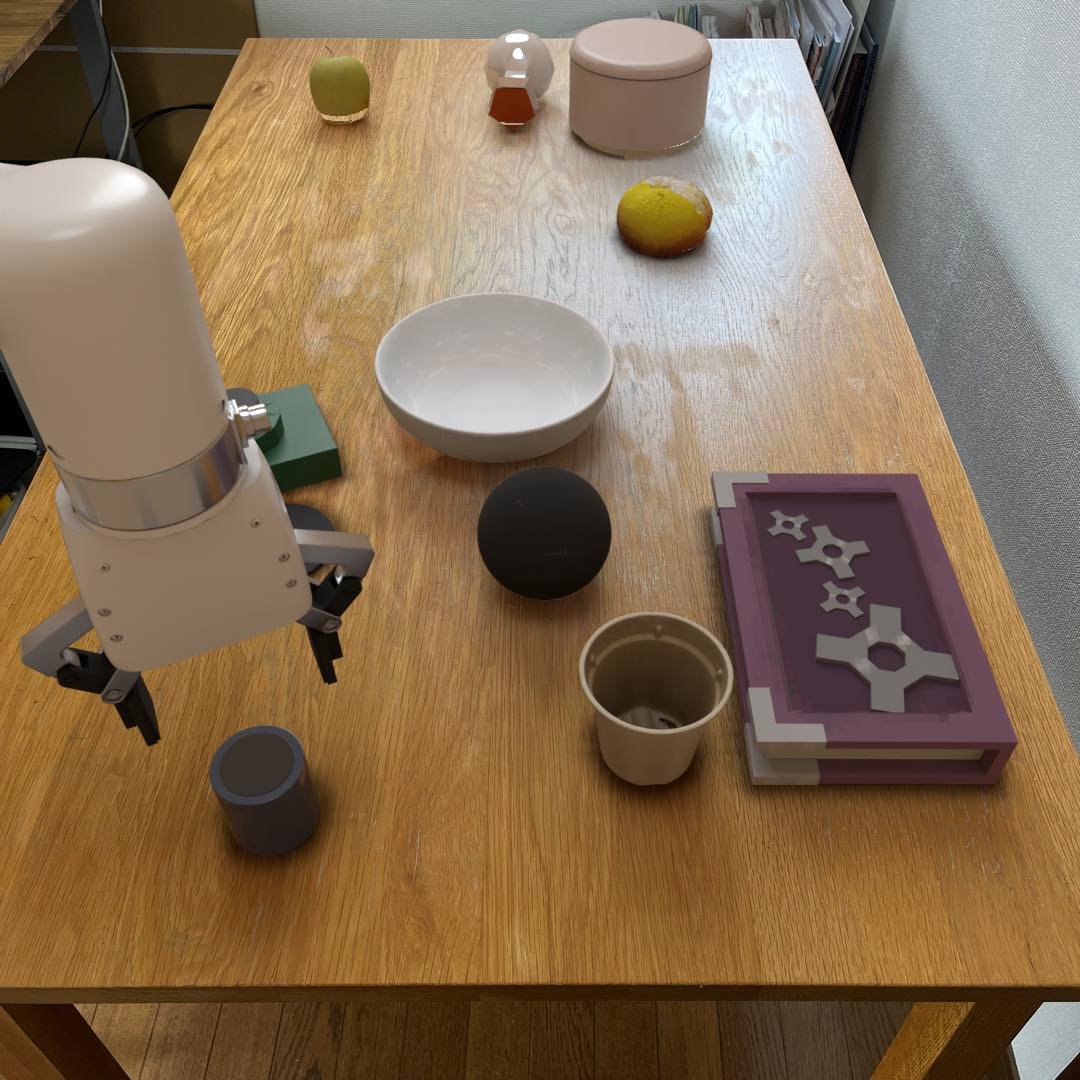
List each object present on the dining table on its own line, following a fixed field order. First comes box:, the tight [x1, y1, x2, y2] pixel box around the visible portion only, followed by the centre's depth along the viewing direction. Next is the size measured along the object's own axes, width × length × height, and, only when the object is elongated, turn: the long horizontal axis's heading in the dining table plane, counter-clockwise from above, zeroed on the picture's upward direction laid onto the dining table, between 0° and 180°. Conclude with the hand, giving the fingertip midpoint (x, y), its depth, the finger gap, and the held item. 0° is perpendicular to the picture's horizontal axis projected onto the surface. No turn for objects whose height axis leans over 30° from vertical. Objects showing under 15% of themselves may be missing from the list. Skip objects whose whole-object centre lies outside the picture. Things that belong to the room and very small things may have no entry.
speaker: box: [476, 465, 613, 602], centre depth 77 cm, size 10×10×10 cm
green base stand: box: [254, 382, 344, 494], centre depth 89 cm, size 14×10×5 cm
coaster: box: [284, 502, 336, 577], centre depth 83 cm, size 9×9×1 cm
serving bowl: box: [373, 292, 616, 464], centre depth 93 cm, size 21×21×7 cm
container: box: [568, 17, 713, 158], centre depth 134 cm, size 18×18×12 cm
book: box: [709, 470, 1019, 786], centre depth 75 cm, size 25×16×5 cm, turn 0°
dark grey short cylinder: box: [225, 387, 259, 406], centre depth 87 cm, size 4×4×2 cm
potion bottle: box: [483, 28, 556, 132], centre depth 140 cm, size 9×10×15 cm
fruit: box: [616, 175, 714, 259], centre depth 117 cm, size 11×10×8 cm
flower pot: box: [578, 610, 734, 787], centre depth 67 cm, size 9×9×9 cm
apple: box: [308, 45, 371, 126], centre depth 138 cm, size 8×8×10 cm
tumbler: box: [208, 724, 321, 857], centre depth 64 cm, size 6×6×6 cm
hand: (239, 694), depth 57 cm, fingers open, 9 cm apart
